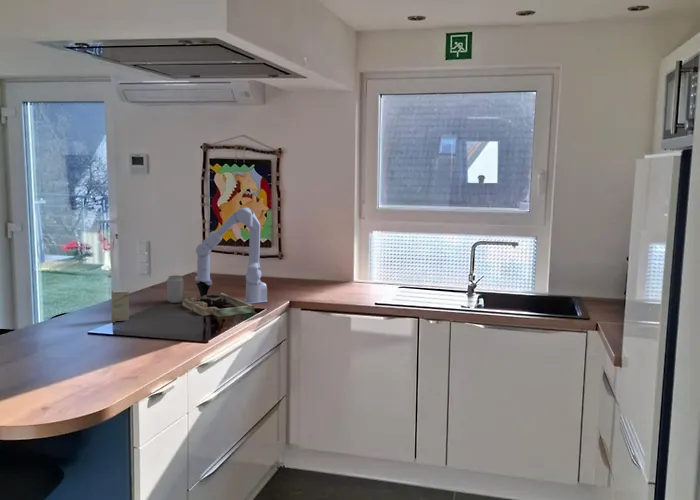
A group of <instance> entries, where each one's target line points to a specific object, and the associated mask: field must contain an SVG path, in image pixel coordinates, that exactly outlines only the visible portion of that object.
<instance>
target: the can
mask: <svg viewBox="0 0 700 500" xmlns="http://www.w3.org/2000/svg"><path fill="white" fill-rule="evenodd" d="M166 290H167V291H166V292H167V293H166V299H167V302H168V303H170V304H179V303H183V299H185V279H184V277H183V275H179V274H178V275H177V274H176V275H175V274H174V275H173V274H172V275H169V276H168V278H167V279H166Z"/></svg>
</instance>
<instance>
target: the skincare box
mask: <svg viewBox="0 0 700 500" xmlns="http://www.w3.org/2000/svg"><path fill="white" fill-rule="evenodd" d="M129 300H130V292H129V290H128V289H117V290H115V289H113V290H111V321H112V322H113V323H116V322H115V321H121V320H129V321H130V319H129V318H130V309H129V308H130V301H129Z"/></svg>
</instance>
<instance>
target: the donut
mask: <svg viewBox="0 0 700 500" xmlns="http://www.w3.org/2000/svg"><path fill="white" fill-rule="evenodd" d="M202 301H203V302H205V303H207V307H216V308H217V307H222V306H223V305H225V304H226V303H227V302H226V298H225V297H224V296H223V295H220V294H215V293H214V294H213V293H212V294H207V295H204V296H202V297H201V296H200V299H199V302H202Z"/></svg>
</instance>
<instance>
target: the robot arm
mask: <svg viewBox="0 0 700 500" xmlns="http://www.w3.org/2000/svg"><path fill="white" fill-rule="evenodd" d="M238 223H241V224H244V226H246V227H247V228H248V229H249V246H248V266H247V271H246V273H245V275H244V276H245V280H246V281H245V299H242V300H241V301H244V302H246V303H249V304H252V305H254V304H260V303H268V287H267V286H268V285H267V283H265V282H263V281H262V280H261V278H262V276H263V271H262V270H261V264H260V255H261V252H260V249H261V223H260V221H259V219H258V218H257V215H256V214H255V212H254V211H253V210H252V209H251V208H249V207H248V206H247V207H242V208H238V209H237V210H236V212H234V213H232V214H231V215H230V216H229V217H228V218H227V219H226V220H225V221H224V223H222V225H221V226H220V227H219V228H218V229H217V230H216V231H215V230H212V231H211V232H209V233H207V234H208V235H207V237H206V238H205V239H204V240H201V243H200V244H198V245H197V247H196V249H195V253H196V255H197V258H196V259H197V260H196V265H197V267H196V270H197V271H196V273H197V276H196V275H195V277H194V281H196V282H195V284H196V286H197V289H198V291H199V296H200V298H201V297H202V296H204V295H208V292H209V289H210V288H211V286H213V280H212V279H211V266H210V265H211V259H210V258H211V257H210V255H211V252H212V250H214V249H215V248H216V247H217V246H218V245H219V243H221V242H222V240H223V235H225V234H226V233H227V231H228V230H230V228H231V227H233V225H235V224H238Z"/></svg>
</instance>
